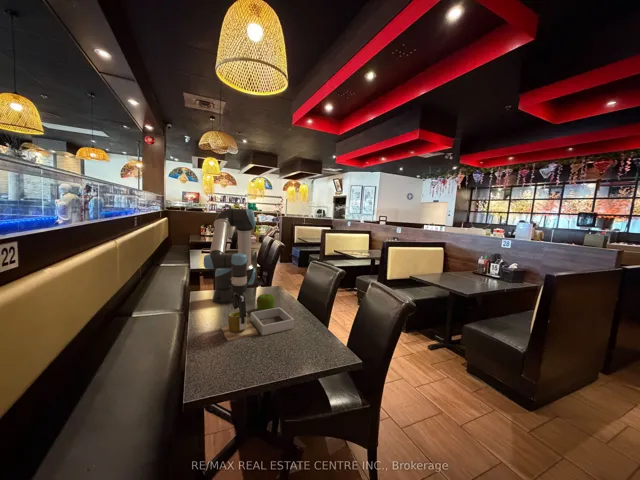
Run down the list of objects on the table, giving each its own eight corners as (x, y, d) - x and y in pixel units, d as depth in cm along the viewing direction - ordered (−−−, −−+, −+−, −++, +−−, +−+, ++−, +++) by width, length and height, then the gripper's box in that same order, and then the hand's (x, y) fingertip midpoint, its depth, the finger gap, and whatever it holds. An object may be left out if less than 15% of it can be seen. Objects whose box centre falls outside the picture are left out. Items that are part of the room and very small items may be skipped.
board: (221, 328, 137) (221, 326, 136) (249, 323, 145) (249, 320, 144) (227, 341, 124) (227, 338, 124) (257, 334, 132) (257, 332, 132)
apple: (273, 306, 170) (273, 290, 169) (275, 312, 160) (275, 296, 159) (256, 308, 167) (256, 291, 166) (257, 314, 157) (257, 297, 155)
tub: (250, 320, 147) (250, 312, 147) (279, 315, 157) (279, 307, 156) (262, 335, 131) (262, 326, 130) (294, 328, 140) (294, 319, 139)
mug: (243, 332, 126) (239, 311, 127) (225, 335, 128) (222, 315, 130) (255, 326, 137) (252, 307, 139) (239, 329, 140) (236, 311, 141)
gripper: (226, 279, 139) (226, 317, 142) (237, 291, 120) (237, 335, 122) (240, 277, 143) (240, 315, 146) (253, 289, 123) (253, 332, 126)
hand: (239, 324), depth 134 cm, fingers closed on mug, 11 cm apart
